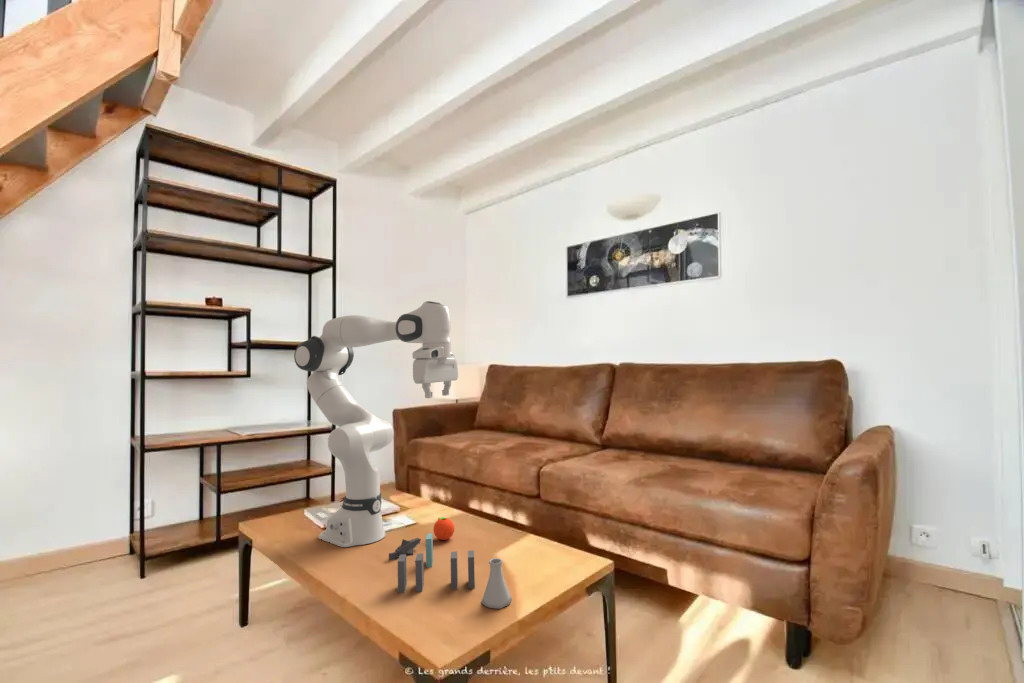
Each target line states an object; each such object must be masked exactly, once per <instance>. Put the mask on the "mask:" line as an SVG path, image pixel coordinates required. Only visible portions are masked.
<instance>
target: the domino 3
mask: <svg viewBox="0 0 1024 683" xmlns="http://www.w3.org/2000/svg"><path fill="white" fill-rule="evenodd" d="M433 534H434V532H433V533H426V537H425V563H426V564H425V567H426V568H432V567H433V562H434V546H433V545H434V544H433V543H434V542H433V540H434V539H433V538H434V536H433Z"/></svg>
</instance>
